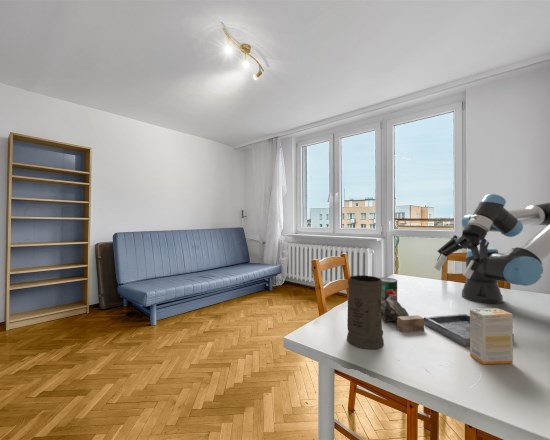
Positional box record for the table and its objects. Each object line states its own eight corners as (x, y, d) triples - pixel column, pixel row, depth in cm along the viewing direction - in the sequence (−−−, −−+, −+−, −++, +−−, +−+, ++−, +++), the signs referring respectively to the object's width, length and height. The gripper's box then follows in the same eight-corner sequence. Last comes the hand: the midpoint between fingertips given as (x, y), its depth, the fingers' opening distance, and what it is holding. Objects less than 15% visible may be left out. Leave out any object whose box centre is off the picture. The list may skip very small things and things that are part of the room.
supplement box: (497, 354, 74) (497, 307, 74) (513, 364, 69) (514, 314, 69) (468, 355, 74) (468, 308, 74) (482, 364, 69) (483, 314, 69)
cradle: (389, 309, 110) (389, 300, 110) (424, 330, 90) (424, 318, 90) (371, 311, 108) (371, 301, 108) (402, 331, 89) (402, 320, 89)
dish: (465, 320, 98) (465, 314, 98) (513, 342, 81) (513, 334, 81) (423, 324, 95) (423, 317, 95) (465, 347, 78) (465, 338, 78)
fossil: (416, 325, 93) (402, 299, 93) (391, 335, 95) (377, 310, 95) (407, 313, 104) (394, 290, 104) (384, 322, 105) (372, 299, 106)
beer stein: (379, 354, 74) (380, 282, 75) (341, 344, 80) (343, 277, 81) (388, 337, 87) (389, 275, 88) (355, 329, 93) (356, 271, 94)
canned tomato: (394, 309, 111) (394, 282, 111) (375, 305, 115) (375, 280, 115) (399, 304, 117) (399, 279, 117) (380, 300, 122) (380, 276, 122)
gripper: (444, 221, 119) (420, 261, 117) (503, 225, 95) (473, 275, 93) (456, 231, 121) (432, 270, 119) (516, 237, 96) (487, 286, 95)
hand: (450, 272), depth 106 cm, fingers open, 13 cm apart
